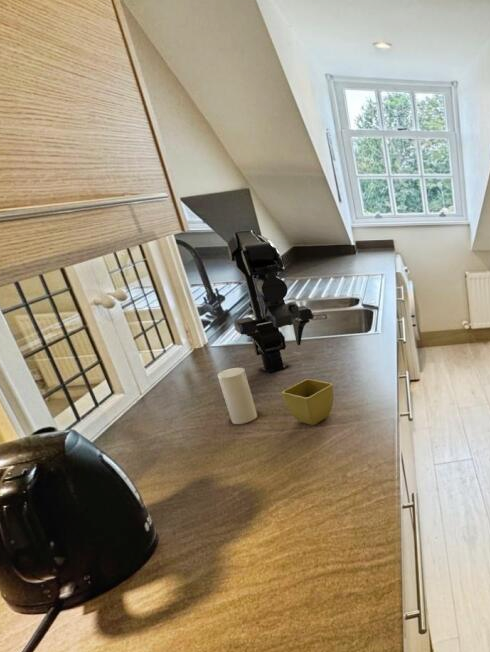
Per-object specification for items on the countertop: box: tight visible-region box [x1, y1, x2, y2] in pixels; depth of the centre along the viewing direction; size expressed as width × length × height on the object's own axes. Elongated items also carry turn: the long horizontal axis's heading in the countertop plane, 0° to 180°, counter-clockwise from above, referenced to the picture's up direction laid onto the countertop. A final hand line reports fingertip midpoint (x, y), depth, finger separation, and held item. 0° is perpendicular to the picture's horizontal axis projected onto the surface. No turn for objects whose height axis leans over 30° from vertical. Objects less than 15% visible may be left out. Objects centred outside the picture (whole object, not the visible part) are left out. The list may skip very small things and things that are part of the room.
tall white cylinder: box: [217, 367, 258, 425], centre depth 115 cm, size 6×6×13 cm
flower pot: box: [281, 378, 334, 426], centre depth 113 cm, size 9×9×9 cm
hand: (282, 349), depth 124 cm, fingers open, 9 cm apart
